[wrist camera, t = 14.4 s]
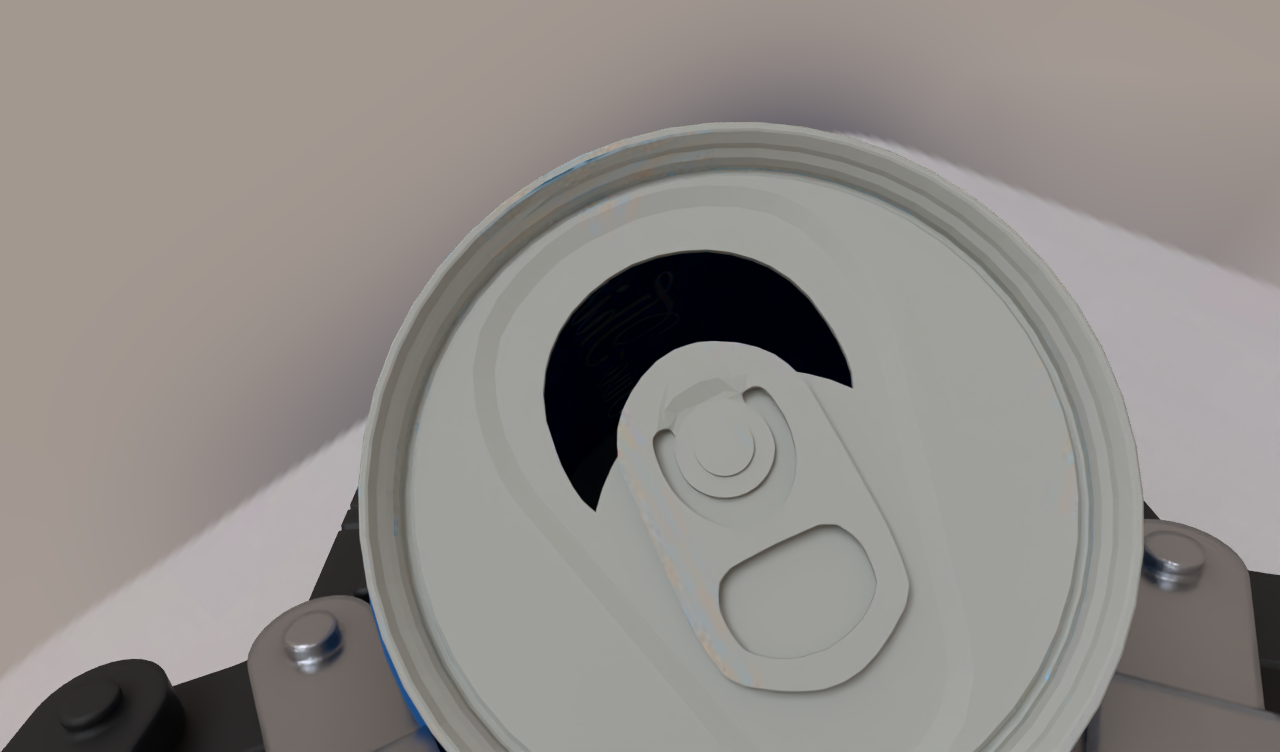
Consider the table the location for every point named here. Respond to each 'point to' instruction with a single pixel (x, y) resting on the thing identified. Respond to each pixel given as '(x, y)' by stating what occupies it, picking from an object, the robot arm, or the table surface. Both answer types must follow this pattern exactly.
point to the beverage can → (749, 465)
